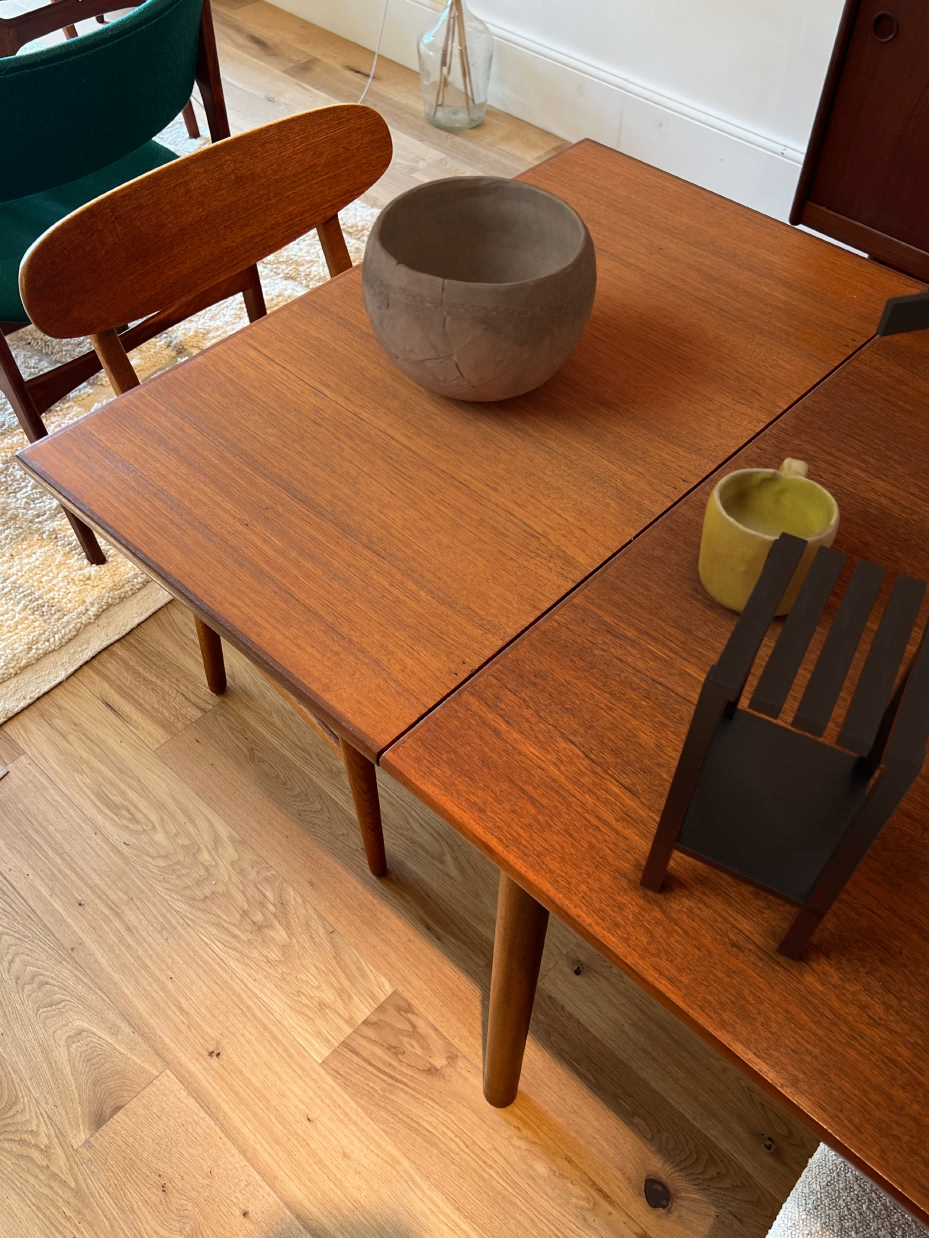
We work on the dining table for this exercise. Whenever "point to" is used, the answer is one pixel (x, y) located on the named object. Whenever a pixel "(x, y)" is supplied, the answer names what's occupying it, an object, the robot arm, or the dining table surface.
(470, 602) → the dining table surface
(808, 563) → the mug
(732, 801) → the rack
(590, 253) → the bowl
